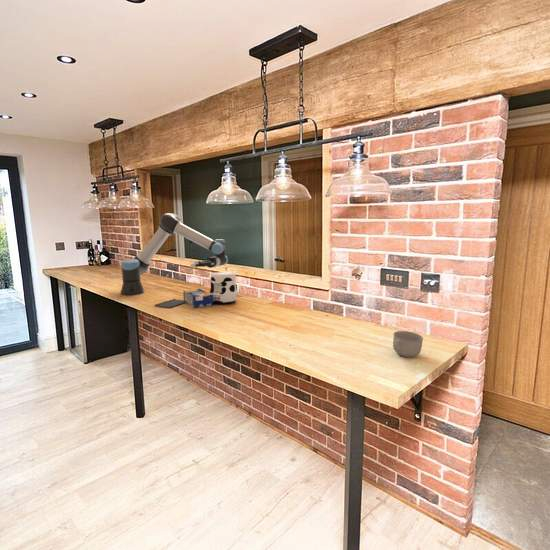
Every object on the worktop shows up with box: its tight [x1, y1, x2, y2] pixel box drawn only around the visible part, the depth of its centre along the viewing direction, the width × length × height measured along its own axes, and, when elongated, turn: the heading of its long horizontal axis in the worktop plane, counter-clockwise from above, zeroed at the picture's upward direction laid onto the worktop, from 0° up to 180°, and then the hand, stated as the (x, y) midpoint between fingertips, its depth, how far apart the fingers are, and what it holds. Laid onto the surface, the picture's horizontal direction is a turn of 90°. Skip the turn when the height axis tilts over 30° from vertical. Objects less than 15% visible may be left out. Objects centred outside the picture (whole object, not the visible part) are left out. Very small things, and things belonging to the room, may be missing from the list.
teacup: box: [392, 330, 424, 358], centre depth 140 cm, size 14×11×8 cm
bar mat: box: [154, 298, 188, 309], centre depth 225 cm, size 12×18×1 cm, turn 154°
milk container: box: [209, 271, 238, 305], centre depth 228 cm, size 17×17×18 cm
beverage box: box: [182, 288, 214, 309], centre depth 226 cm, size 7×11×22 cm
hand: (191, 265), depth 239 cm, fingers closed
